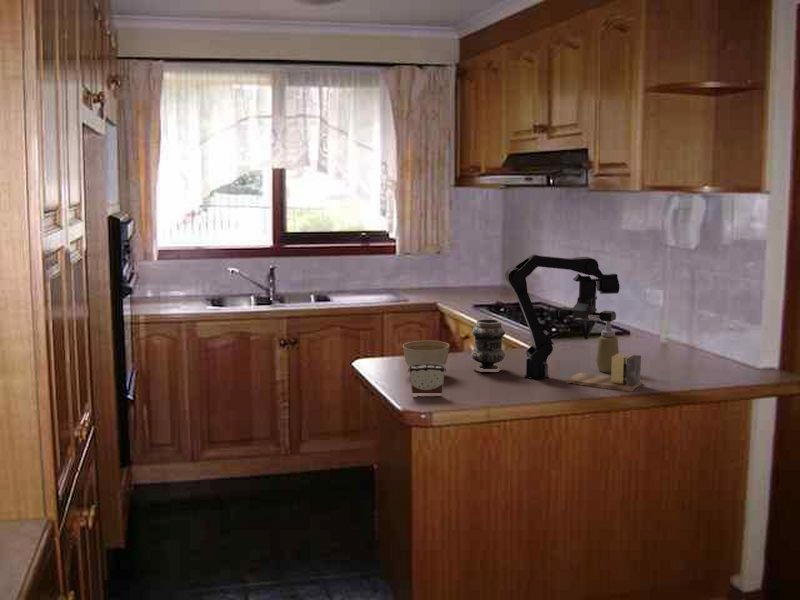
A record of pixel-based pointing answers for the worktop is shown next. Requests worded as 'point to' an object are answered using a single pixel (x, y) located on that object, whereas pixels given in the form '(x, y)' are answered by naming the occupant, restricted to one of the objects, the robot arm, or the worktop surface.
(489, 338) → the apothecary jar
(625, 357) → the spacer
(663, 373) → the worktop surface
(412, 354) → the planter bowl
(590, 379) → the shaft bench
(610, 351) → the squeeze bottle
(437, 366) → the food container
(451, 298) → the worktop surface
